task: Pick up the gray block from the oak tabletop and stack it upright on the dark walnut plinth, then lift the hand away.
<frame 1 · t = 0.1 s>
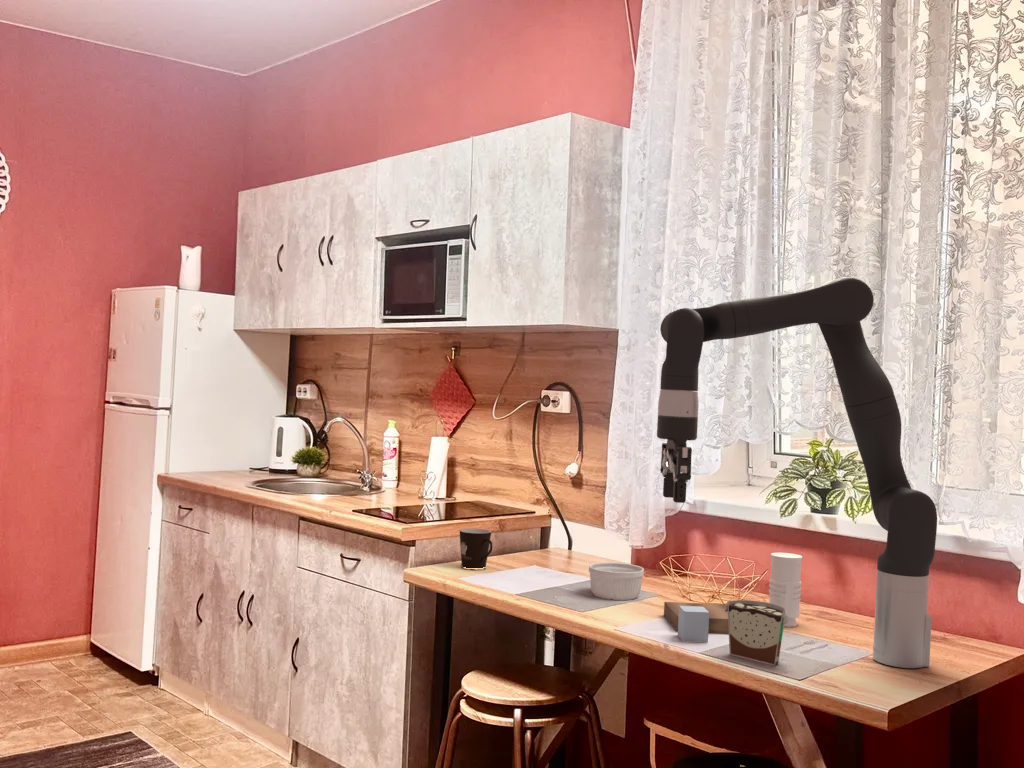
hand: (673, 499, 179), 29 cm above the table, tool pointing down, fingers open, 8 cm apart
gray block: (692, 638, 191), on the table
walnut plinth: (702, 624, 204), on the table
ramekin: (615, 596, 229), on the table
food container: (759, 658, 180), on the table
coffee mug: (474, 569, 254), on the table
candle: (783, 624, 208), on the table
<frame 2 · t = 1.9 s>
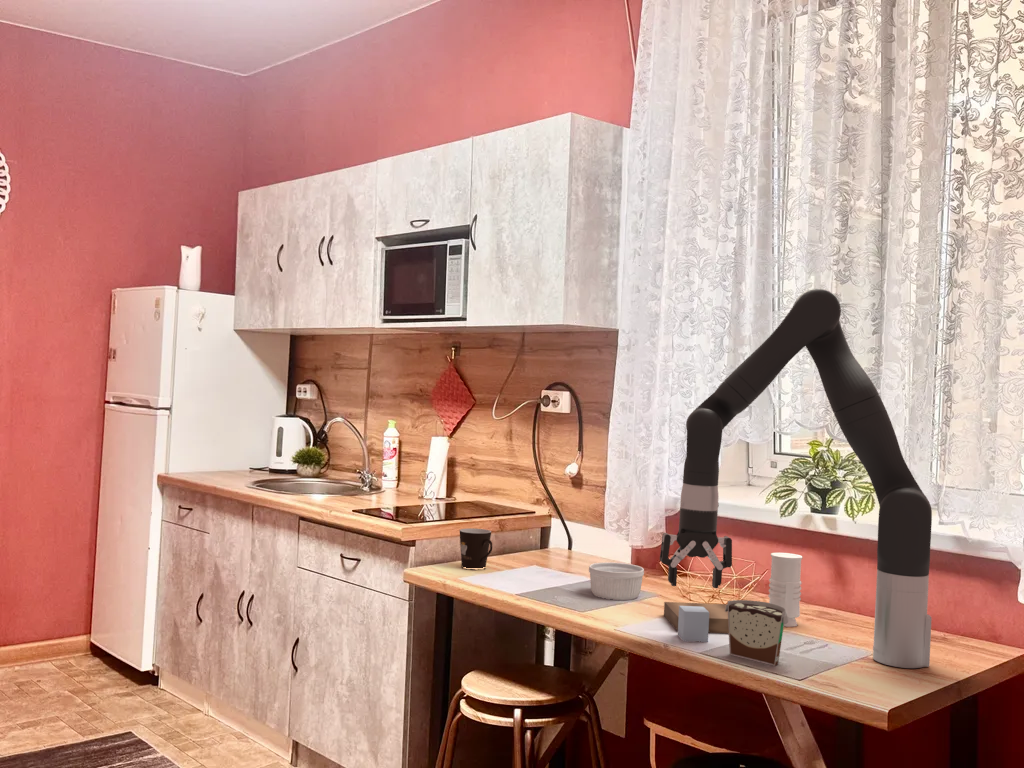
hand: (694, 586, 192), 10 cm above the table, tool pointing down, fingers open, 8 cm apart
nothing on the table moved.
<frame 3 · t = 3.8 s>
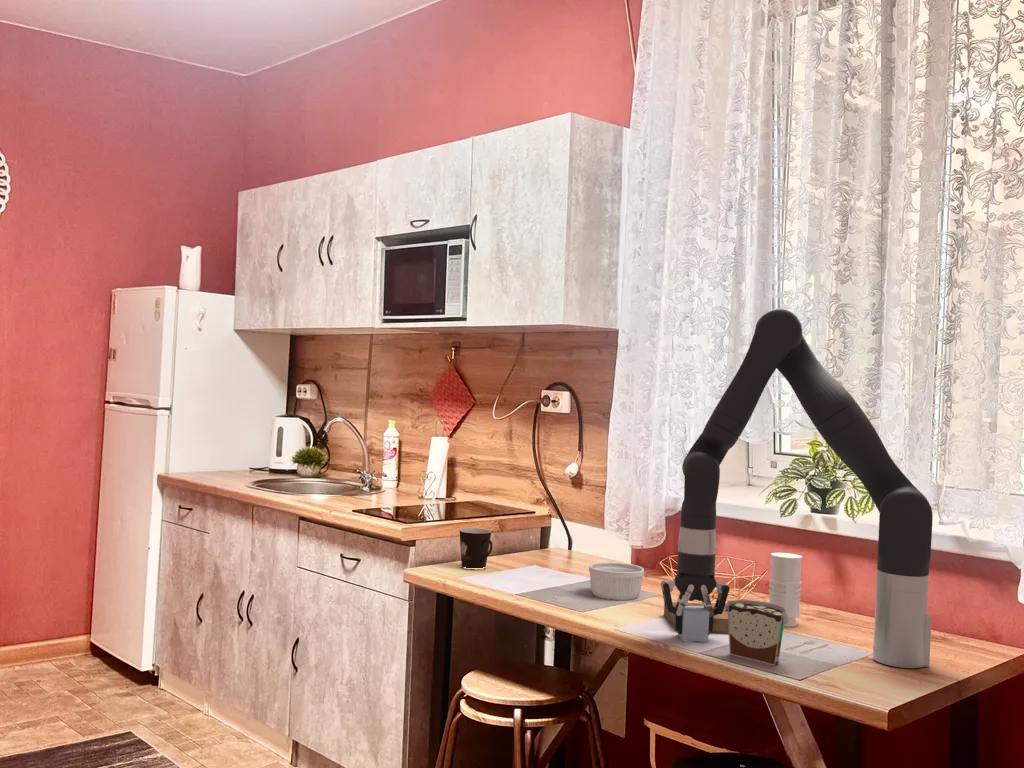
hand: (692, 633, 192), 1 cm above the table, tool pointing down, fingers closed on gray block, 5 cm apart
gray block: (692, 638, 191), on the table, touching gripper
everything else where it was.
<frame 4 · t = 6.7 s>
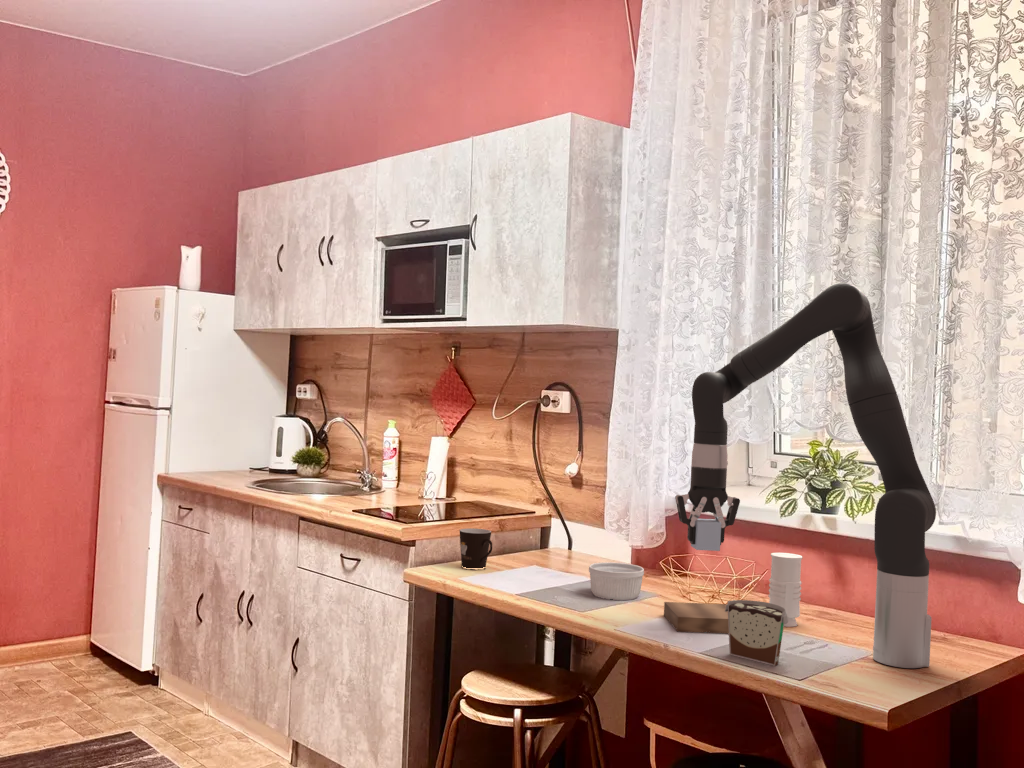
hand: (705, 543, 203), 17 cm above the table, tool pointing down, fingers closed on gray block, 5 cm apart
gray block: (705, 548, 203), point 16 cm above the table, touching gripper
everything else where it was.
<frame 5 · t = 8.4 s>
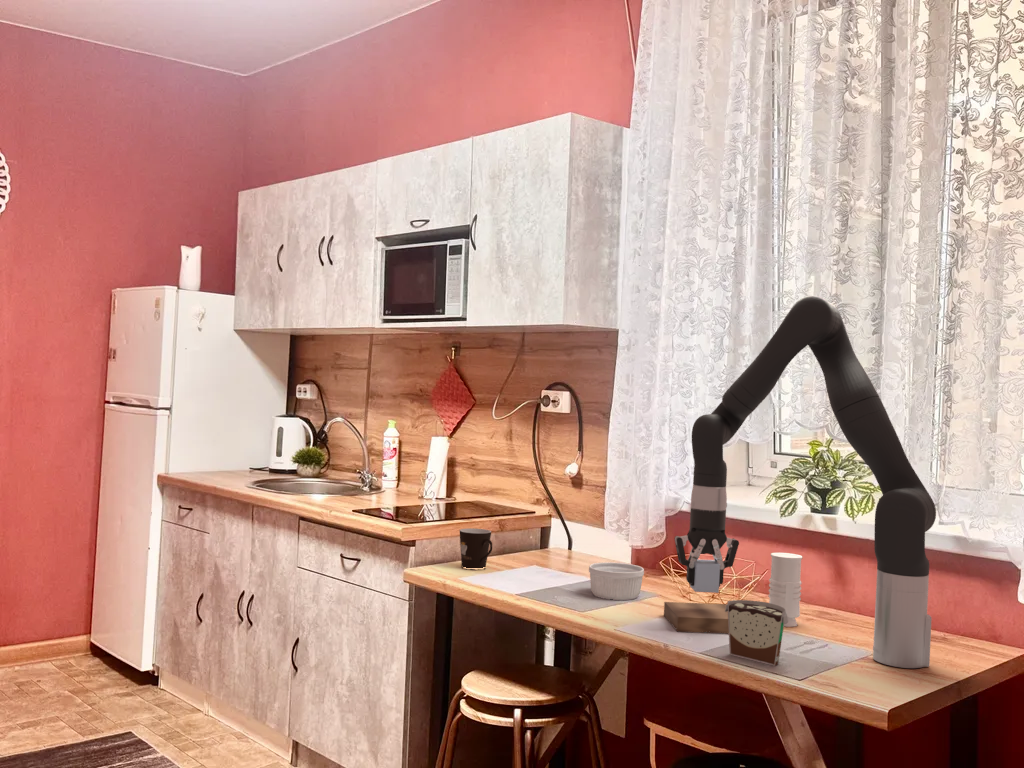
hand: (704, 585, 204), 8 cm above the table, tool pointing down, fingers closed on gray block, 5 cm apart
gray block: (704, 589, 204), point 7 cm above the table, touching gripper
everything else where it was.
when the fingers open (5 cm above the table, at t = 9.9 s): gray block drops 1 cm, resting on walnut plinth.
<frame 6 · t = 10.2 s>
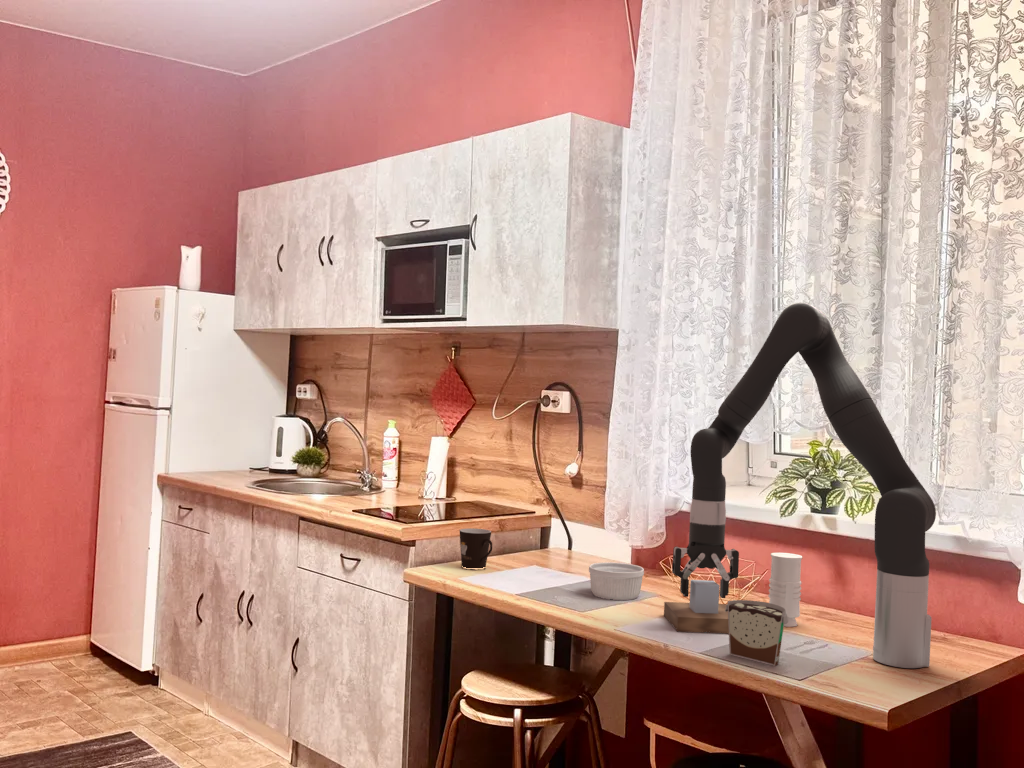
hand: (703, 596, 204), 6 cm above the table, tool pointing down, fingers open, 7 cm apart
gray block: (703, 610, 204), point 3 cm above the table, touching walnut plinth
everything else where it was.
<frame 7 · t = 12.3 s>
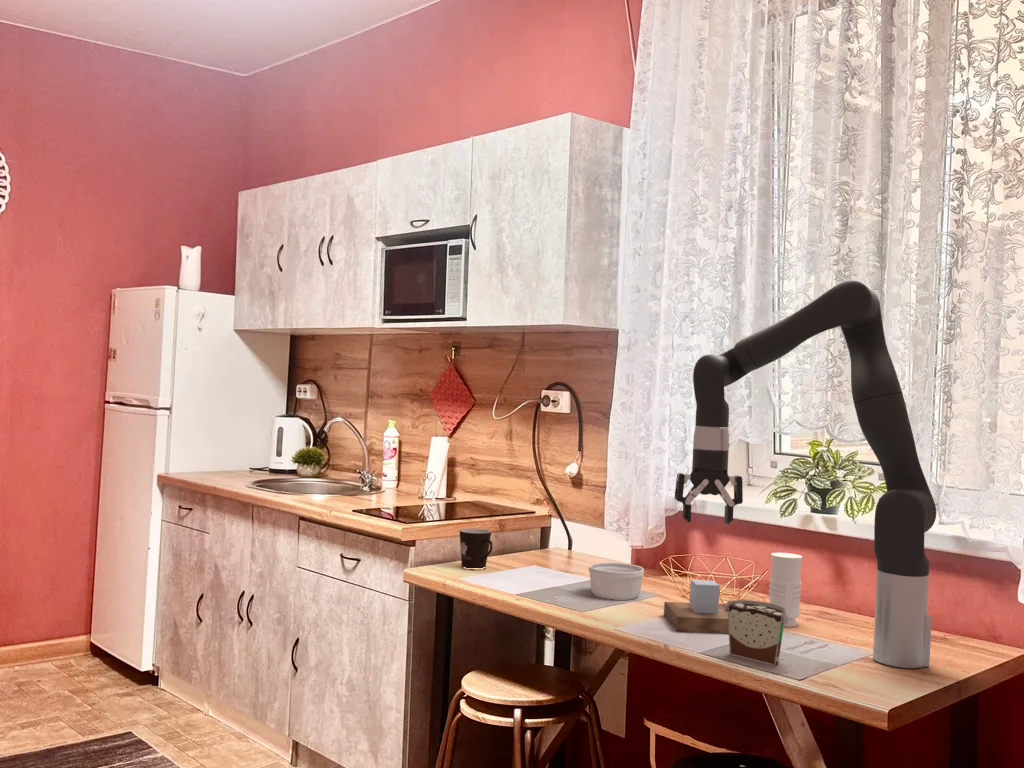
hand: (707, 522, 204), 22 cm above the table, tool pointing down, fingers open, 8 cm apart
nothing on the table moved.
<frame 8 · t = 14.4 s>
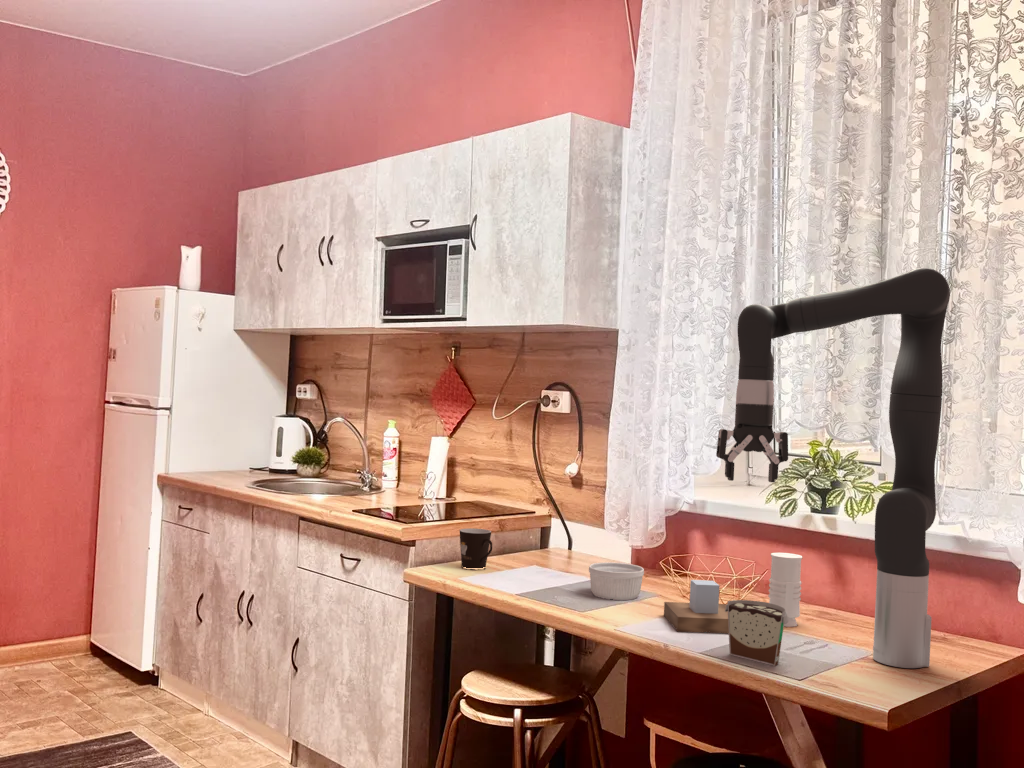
hand: (750, 481, 194), 32 cm above the table, tool pointing down, fingers open, 8 cm apart
nothing on the table moved.
at the end: gray block inside the target area on the walnut plinth (0.1 cm from its centre), point 3.0 cm above the walnut plinth's base; gray block tilted 0°; the gripper is holding nothing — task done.
